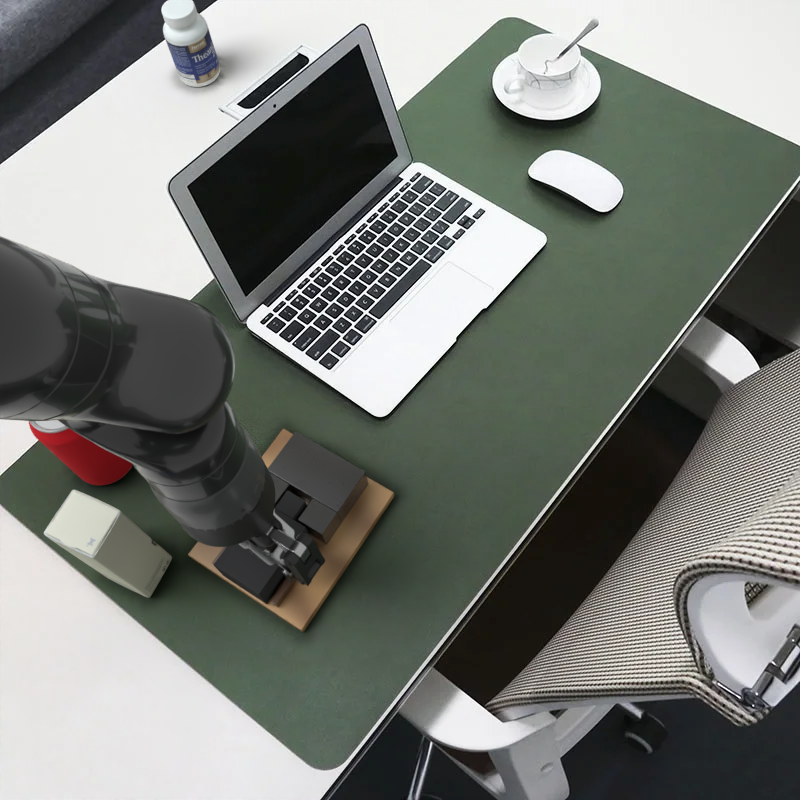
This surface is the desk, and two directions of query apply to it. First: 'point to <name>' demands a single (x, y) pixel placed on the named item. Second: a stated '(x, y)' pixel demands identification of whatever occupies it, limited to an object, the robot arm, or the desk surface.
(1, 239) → the robot arm
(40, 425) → the beverage can
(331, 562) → the dock
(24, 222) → the desk surface
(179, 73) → the pill bottle
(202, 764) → the desk surface
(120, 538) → the box
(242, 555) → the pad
